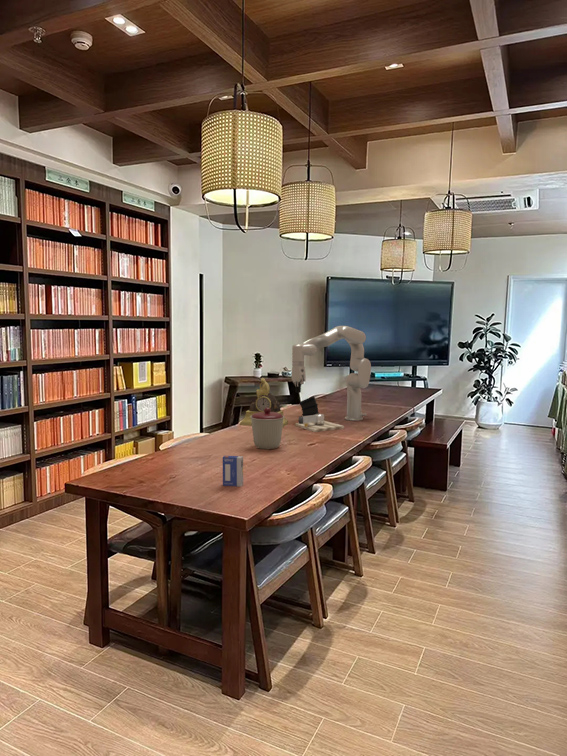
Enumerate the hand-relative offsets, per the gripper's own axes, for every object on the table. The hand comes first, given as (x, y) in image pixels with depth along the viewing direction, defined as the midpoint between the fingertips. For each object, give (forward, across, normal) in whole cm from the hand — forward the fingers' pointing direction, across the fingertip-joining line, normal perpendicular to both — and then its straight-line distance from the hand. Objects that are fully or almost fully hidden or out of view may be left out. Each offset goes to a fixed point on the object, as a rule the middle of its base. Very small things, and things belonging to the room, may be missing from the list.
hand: (298, 392), depth 332 cm
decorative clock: (+21, +12, +18) cm, 30 cm away
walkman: (+21, -92, +92) cm, 131 cm away
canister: (+21, -43, +47) cm, 67 cm away
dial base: (+21, -13, -8) cm, 26 cm away
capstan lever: (+19, -14, -1) cm, 23 cm away
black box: (+21, +19, -22) cm, 36 cm away
